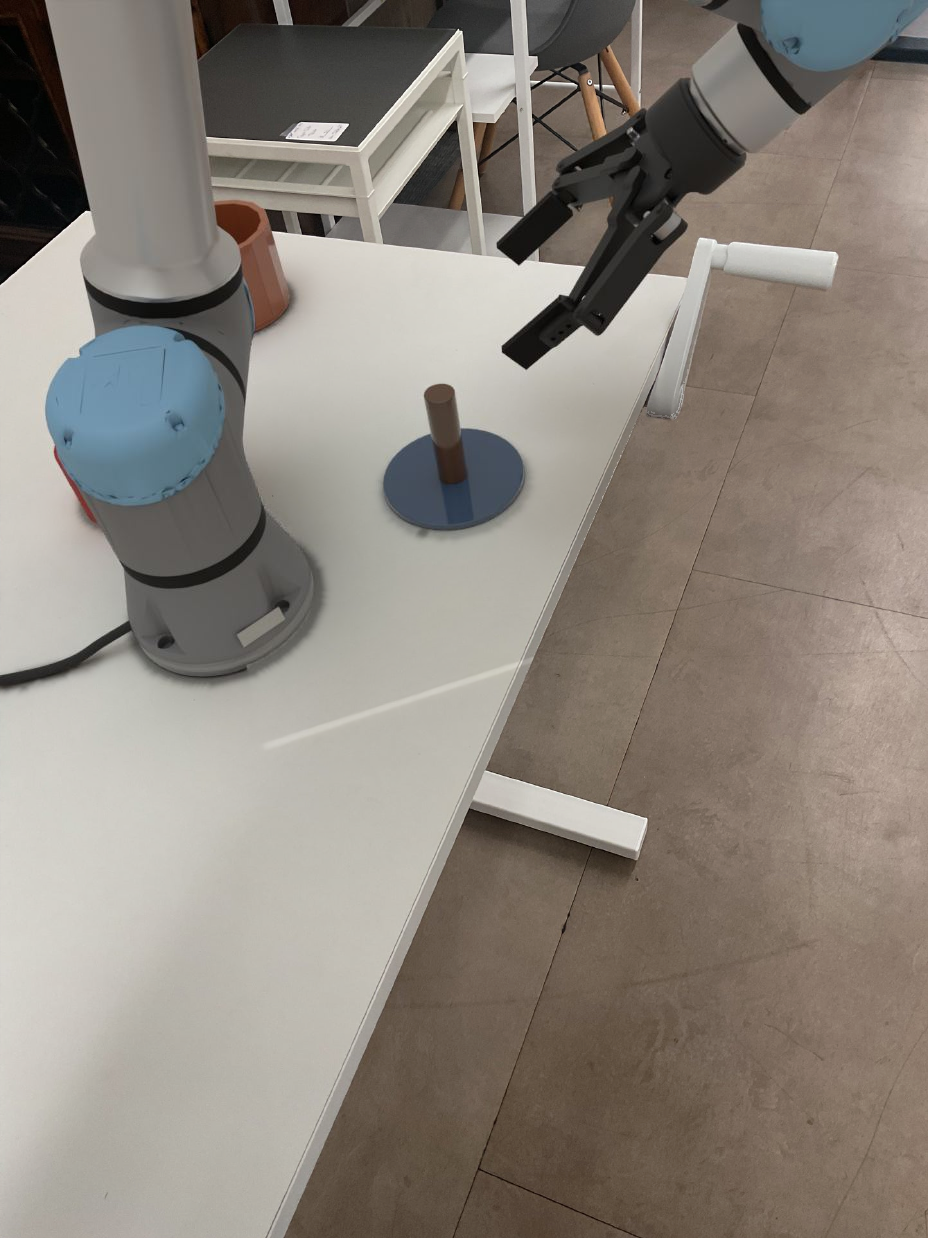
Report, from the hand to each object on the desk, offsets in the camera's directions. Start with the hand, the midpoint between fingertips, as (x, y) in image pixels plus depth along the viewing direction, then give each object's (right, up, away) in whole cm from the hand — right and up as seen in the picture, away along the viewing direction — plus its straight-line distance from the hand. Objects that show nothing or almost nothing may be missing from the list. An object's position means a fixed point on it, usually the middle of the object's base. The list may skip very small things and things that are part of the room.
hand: (510, 304), depth 84 cm
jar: (-29, +9, +29) cm, 42 cm away
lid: (-5, -14, +6) cm, 16 cm away
